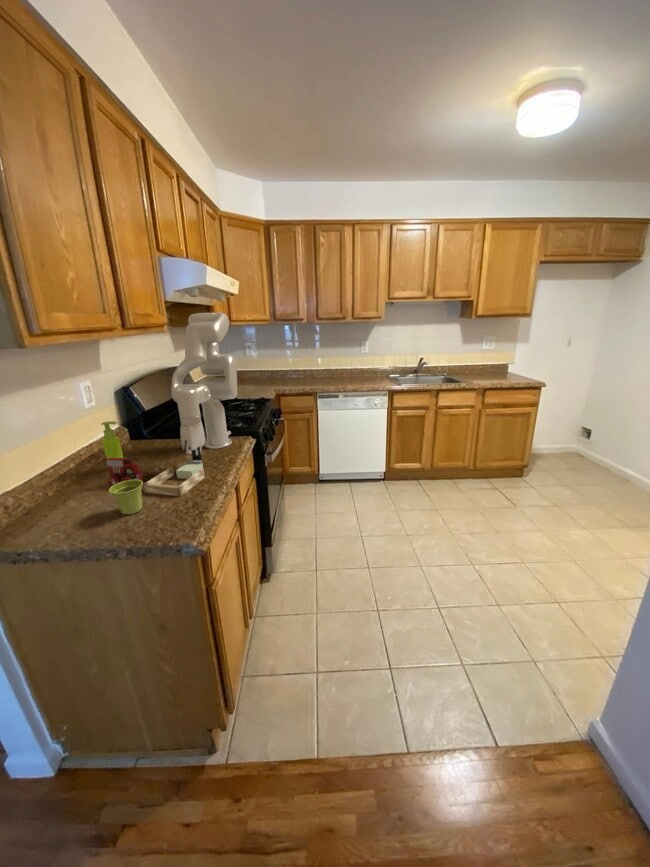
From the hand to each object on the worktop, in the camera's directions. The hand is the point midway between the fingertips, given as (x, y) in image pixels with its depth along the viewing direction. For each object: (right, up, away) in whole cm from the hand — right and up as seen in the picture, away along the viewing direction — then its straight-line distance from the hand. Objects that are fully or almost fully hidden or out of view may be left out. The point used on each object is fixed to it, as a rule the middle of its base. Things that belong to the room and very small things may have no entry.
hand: (197, 463), depth 143 cm
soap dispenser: (-34, -2, +4) cm, 35 cm away
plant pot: (-11, -13, -29) cm, 34 cm away
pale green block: (-1, -4, -5) cm, 6 cm away
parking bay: (-4, -7, -13) cm, 15 cm away
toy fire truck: (-23, -7, -11) cm, 26 cm away
